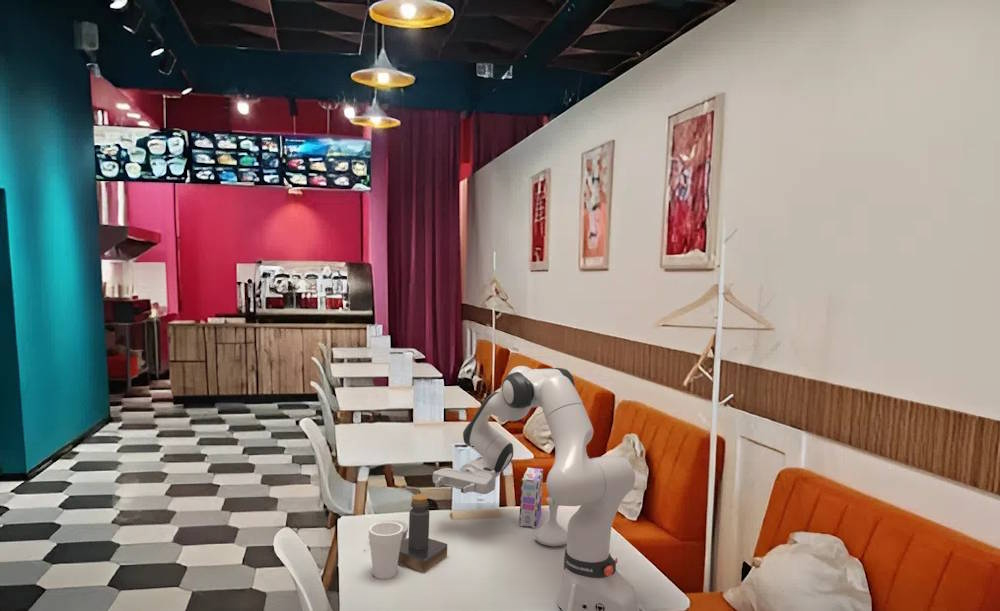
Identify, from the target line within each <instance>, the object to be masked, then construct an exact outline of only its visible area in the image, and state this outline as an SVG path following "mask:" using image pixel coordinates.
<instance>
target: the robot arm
mask: <svg viewBox="0 0 1000 611" xmlns="http://www.w3.org/2000/svg"><path fill="white" fill-rule="evenodd" d="M538 407H539V408H541V409H542V412H543V415H544V418H545V420H546V423H547V425H548V428H549V431H550V434H551V437H552V440H553V444H554V449H555V450H554V452H555V455H554V462H553V465H552V467H551V469H550V470H549V472H548V474H547V477H546V484H545V485H546V490H547V494H548V497H550V498H551V499H552V500H553V501H554V502H555V503H556V504H557V505H559V506H560V507H561V506H563V507H564V506H565V507H579V508H578V509H577V510H576V511H575V513H573V514H572V515H571V517H570V518H569V519H568V523H567V531H566V532H567V543H566V548H565V549H564V557H563V571H564V574H563V581H562V585H561V589H560V592H559V596H558V598H557V606H558V605H559V606H558V608H559V607H560V608H561V609H562V610H563V611H646V609H645V606H644V605H643V604H641V603H639V602H638V600H637V593H636V590H635V588H634V586H633V585H632V584H631V583H629V582H628V581H627V579H626V578H625V577H624V576H622V575H621V574H620V573H619V572H618V570H617V563H618V559H619V558H618V557H616V558H615V559H614V558H613V557H612V555H611V553H610V545H611V536H612V535H611V534H612V528H613V523H614V520H615V518H616V514H617V513H618V510H619V508H620V506H621V504H622V502H623V501H624V499H625V498H626V496H627V495H628V494H629V493H630V492H631V491H632V490H633V488H634V486H635V482H636V474H635V473H636V472H635V469H634V467H633V465H632V464H631V462H630V461H629V460H628V459H627V458H626V457H622V456H616V455H604V456H598V457H597V456H596V457H592V458H590V456H588V453H587V445H588V444H589V443H590V442H591V441H592V439H593V435H594V432H595V431H594V428H593V425H592V422H591V419H590V417H589V414H588V412H587V410H586V407H585V405H584V403H583V400H582V398H581V396H580V395H579V393H578V390H577V389H576V383H575V380H574V377H573V375H572V373H571V372H570V371H569V370H568V369H566V368H564V367H563V368H562V367H560V368H559V367H553V368H533V369H532V368H531V367H528V366H526V365H518V366H514V367H513V368H512V369H511V370H510V371H509V373H508V374H507V375H506V376H505V377H504V380H503V381H502V384H501V387H500V389H499V391H493V392H492V393H491V394H489V395H488V396H487V397H486V398H485V400H483V402H482V404H481V405H480V406H479V408H478V410H477V411H476V413H475V414H474V416H473V418H472V419H471V421H470V422H469V423H468V424H467V425H466V427H465V429H463V432H462V438H463V442H464V444H465V445H467V446H468V445H469V446H468V447H470V446H474V447H472V448H471V449H473V450H474V451H475V452H477V454H479V455H480V456H479V457H477V458H476V459H473V460H471V461H469V462H467V463H465V464H463V465H461V467H460V468H459V469H456V468H451V467H445V468H440V469H437V470H434V471H433V473H432V483H433V484H434V487H436V488H443V486H445V487H450V488H455V489H459V490H460V493H461V494H467V493H472V492H473V493H476V494H481V495H488V494H489V493H491V492H492V491H495V489H496V481H497V479H496V478H498V476H499V475H500V474H501V473H502V472H503V471H504V470H505V469H506V468H507V467H508V466H509V465H510V463H511V462H512V459H513V458H514V446H513V445H514V444H513V443H512V442H511V441H510V440H508V438H506V437H505V436H504V435H502V434H501V433H500V432H498V431H497V430H496V429H495V428H494V427H493V426H491V425H490V424H489V422H488V420H489V419H490V417H491V416H496V417H498V418H500V419H501V420H504V421H508V422H515V421H516V422H517V421H519V420H521V419H523V418H525V417H526V416H527V415H528V414H529V412H530V410H531V409H532V408H538ZM481 456H482V457H481ZM560 608H559V609H560ZM561 609H560V610H561ZM562 610H561V611H562Z"/></svg>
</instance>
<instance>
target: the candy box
mask: <svg viewBox="0 0 1000 611" xmlns="http://www.w3.org/2000/svg"><path fill="white" fill-rule="evenodd" d="M526 468H527V469H526V471H525V472H524V474H523V476H522V478H521V482H520V484H521V485H520V502H519V522H518V524H519V525H518V526H519V527H523V528H529V529H536V528H537V525H538V523H539V519H540V517H541V514H542V497H543V473H544V472H543V471H544V469H543V468H536V467H526Z"/></svg>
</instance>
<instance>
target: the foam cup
mask: <svg viewBox="0 0 1000 611" xmlns="http://www.w3.org/2000/svg"><path fill="white" fill-rule="evenodd" d="M379 522H380V523H378V522H376V523H373V524H372V525H370V527H369V529H368V539H369V546H370V557H371V565H372V574H373V576H374V578H377V579H380V580H388V579H392V578H394V577H395V576H396V574H397V569H398V566H399V565H398V558H399V552H400V546H401V540H402V537H403V527H402V525H401V524H398V523H396V522H381V521H379Z"/></svg>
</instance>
